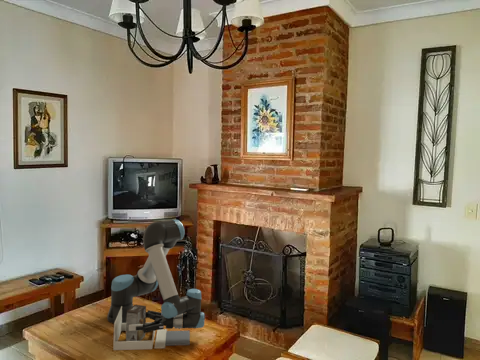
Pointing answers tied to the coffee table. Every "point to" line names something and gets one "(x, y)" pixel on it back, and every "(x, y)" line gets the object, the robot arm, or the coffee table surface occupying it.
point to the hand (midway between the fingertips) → (130, 321)
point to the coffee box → (135, 322)
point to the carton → (136, 344)
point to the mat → (177, 338)
